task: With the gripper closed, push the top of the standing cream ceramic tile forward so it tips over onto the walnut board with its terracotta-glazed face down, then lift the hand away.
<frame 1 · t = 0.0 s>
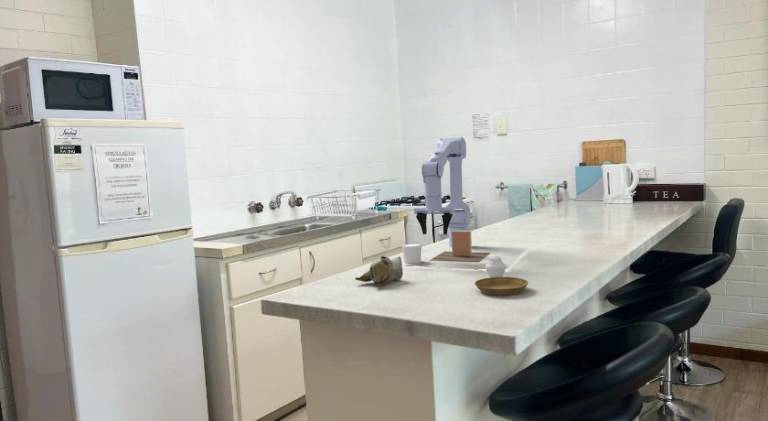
hand: (435, 234, 210), 10 cm above the worktop, fingers open, 7 cm apart
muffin: (495, 278, 182), on the worktop
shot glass: (412, 265, 209), on the worktop
walnut board: (460, 259, 215), on the worktop
glazed tile: (462, 255, 216), point 1 cm above the worktop, touching walnut board
ceramic sculpture: (383, 283, 183), on the worktop
plant saucer: (501, 292, 167), on the worktop
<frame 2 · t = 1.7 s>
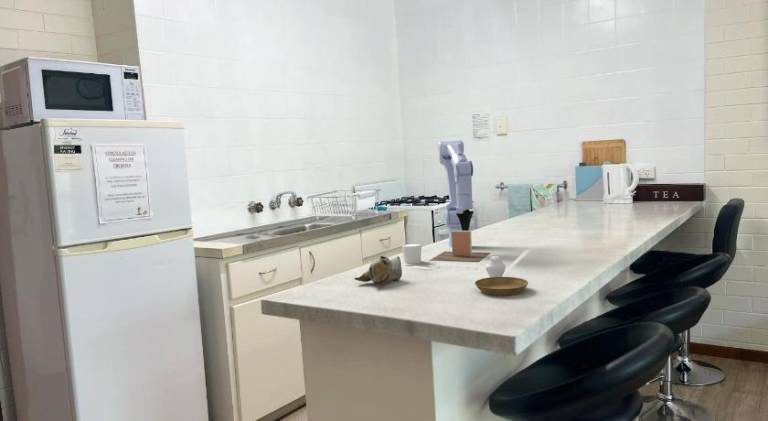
hand: (465, 230, 220), 9 cm above the worktop, fingers closed
nothing on the worktop moved.
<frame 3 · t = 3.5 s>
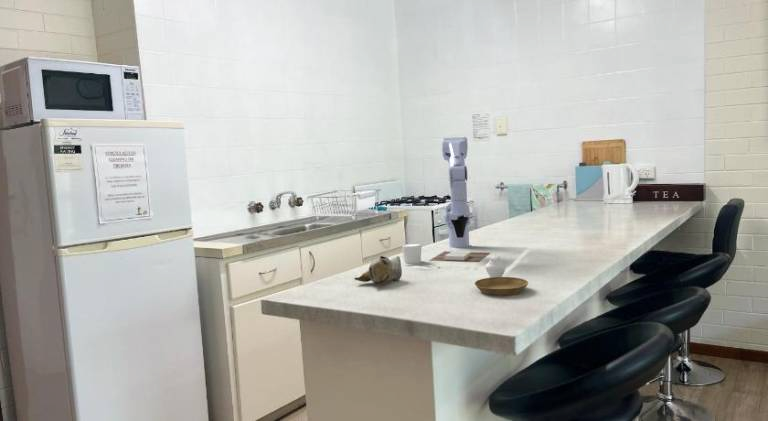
hand: (460, 237, 214), 8 cm above the worktop, fingers closed
glazed tile: (461, 253, 215), point 2 cm above the worktop, tilted 90°, touching walnut board
everything else where it was.
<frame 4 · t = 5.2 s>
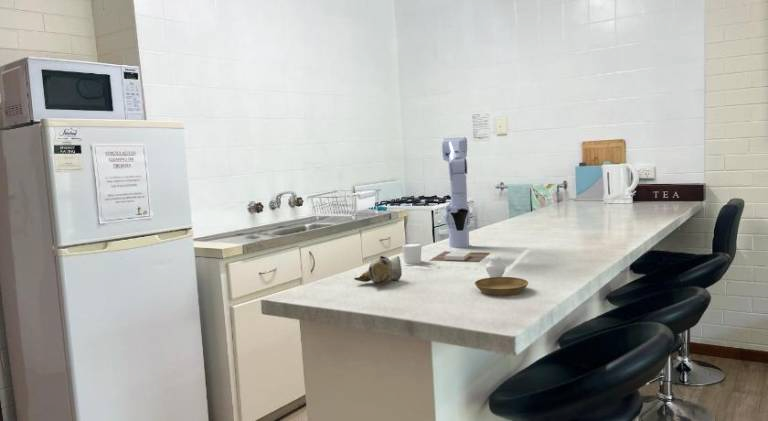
hand: (460, 230, 215), 10 cm above the worktop, fingers closed
nothing on the worktop moved.
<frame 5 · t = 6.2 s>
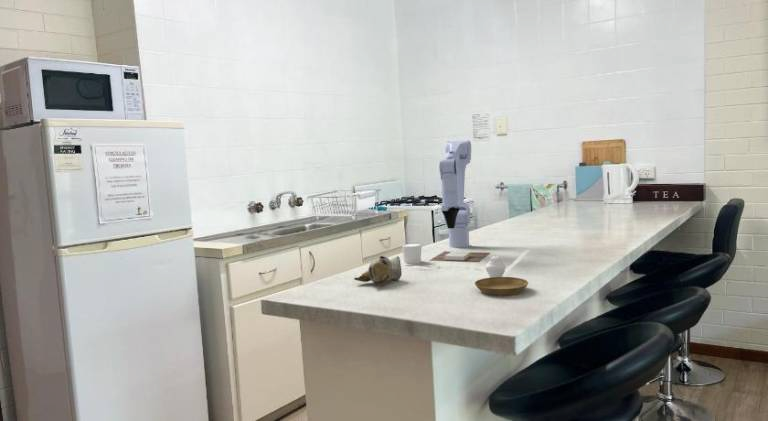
hand: (451, 228, 221), 10 cm above the worktop, fingers closed
nothing on the worktop moved.
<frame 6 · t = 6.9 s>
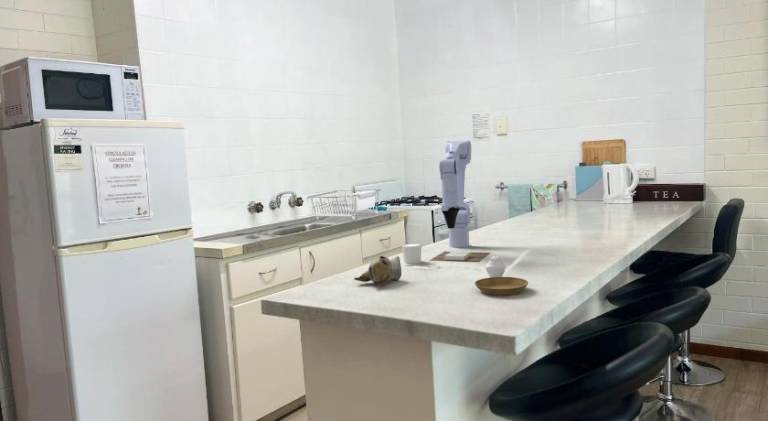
hand: (451, 228, 221), 10 cm above the worktop, fingers closed
nothing on the worktop moved.
at the end: glazed tile tilted 90°; glazed tile inside the target area (0.6 cm from its centre), point 1.8 cm above the worktop; glazed tile touching walnut board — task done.
